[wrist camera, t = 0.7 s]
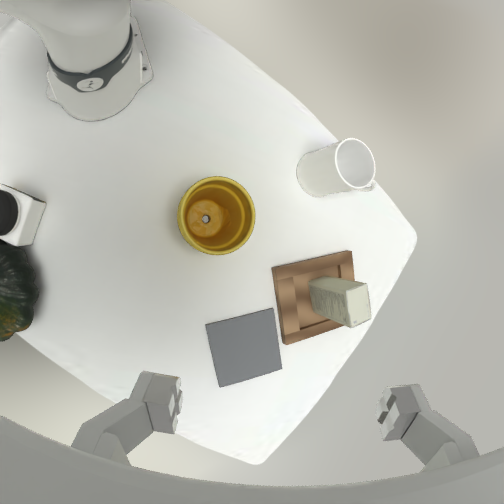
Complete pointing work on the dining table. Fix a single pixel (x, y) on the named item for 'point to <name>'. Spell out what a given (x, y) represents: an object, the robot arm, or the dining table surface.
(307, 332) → the walnut tray
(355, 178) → the mug
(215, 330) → the mat
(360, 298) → the skincare box
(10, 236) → the medicine bottle
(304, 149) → the dining table surface
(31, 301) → the squash
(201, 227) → the plant pot
